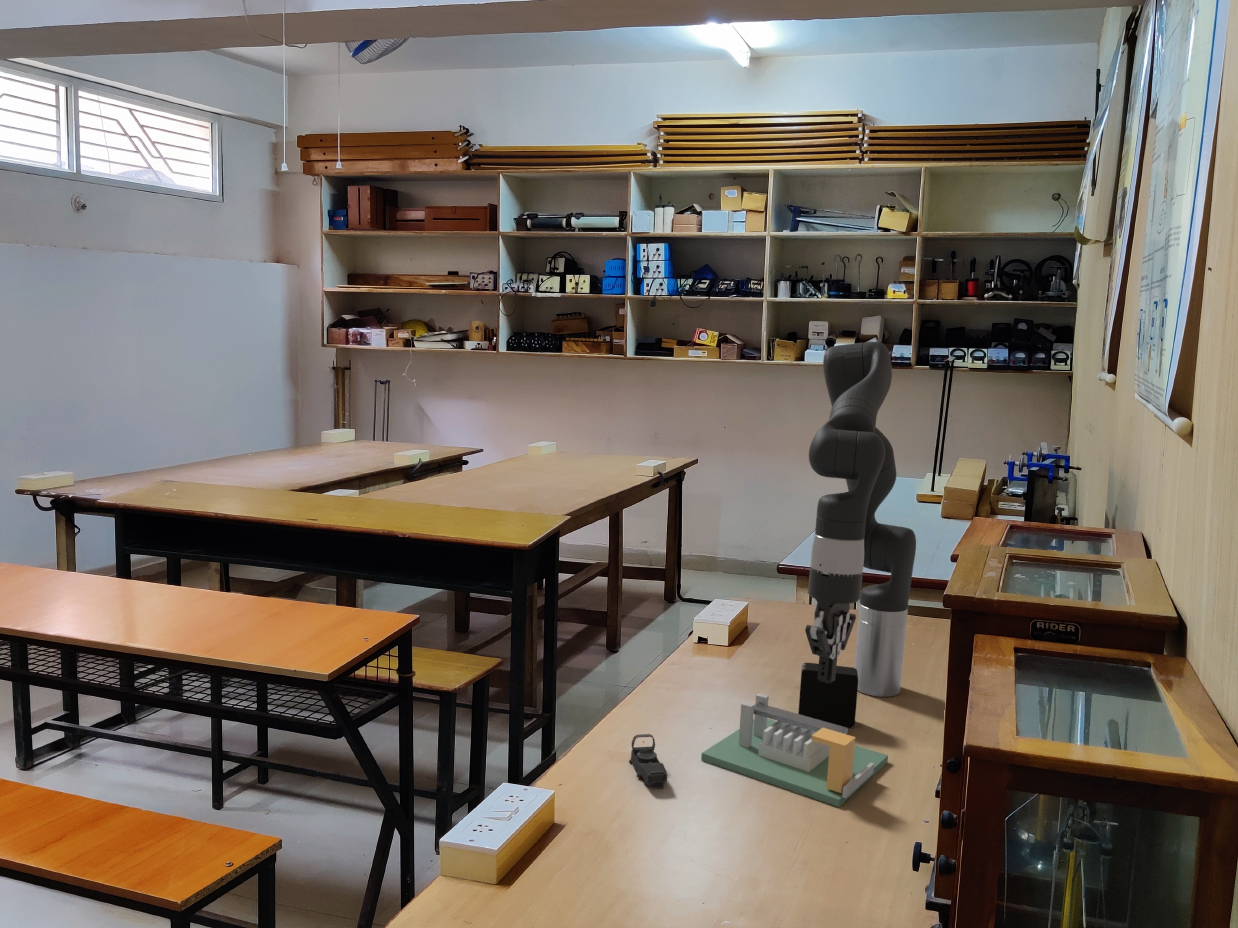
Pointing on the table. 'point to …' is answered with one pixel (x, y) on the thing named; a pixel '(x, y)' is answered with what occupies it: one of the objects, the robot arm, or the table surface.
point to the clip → (837, 757)
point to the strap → (795, 719)
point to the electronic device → (829, 695)
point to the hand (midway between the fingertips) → (826, 680)
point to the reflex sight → (648, 764)
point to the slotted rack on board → (788, 757)
